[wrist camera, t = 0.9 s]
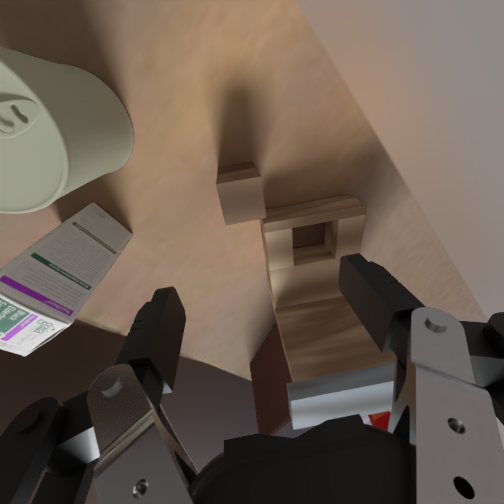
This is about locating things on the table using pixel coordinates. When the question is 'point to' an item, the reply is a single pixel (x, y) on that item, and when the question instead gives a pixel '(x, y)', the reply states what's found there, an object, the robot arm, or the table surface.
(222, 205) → the peg
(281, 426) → the letter holder
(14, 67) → the can
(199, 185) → the table surface
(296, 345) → the socket stand
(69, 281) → the syrup box
